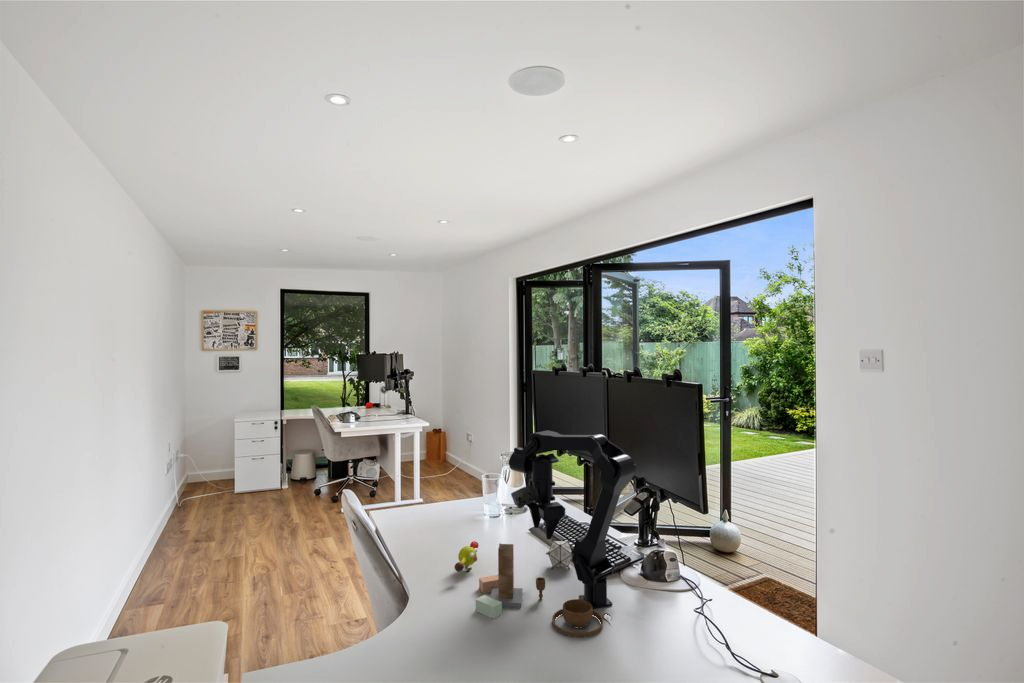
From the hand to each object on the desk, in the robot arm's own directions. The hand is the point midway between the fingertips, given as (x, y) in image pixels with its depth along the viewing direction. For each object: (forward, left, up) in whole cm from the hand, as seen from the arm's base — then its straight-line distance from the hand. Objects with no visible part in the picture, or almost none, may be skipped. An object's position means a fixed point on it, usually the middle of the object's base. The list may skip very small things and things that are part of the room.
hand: (542, 533), depth 153 cm
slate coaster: (-8, +13, -13) cm, 20 cm away
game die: (+6, -8, -13) cm, 17 cm away
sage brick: (-12, +19, -13) cm, 26 cm away
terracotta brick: (0, +15, -13) cm, 20 cm away
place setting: (-20, 0, -14) cm, 25 cm away
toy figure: (+13, +18, -13) cm, 26 cm away
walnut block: (-8, +13, -12) cm, 19 cm away
